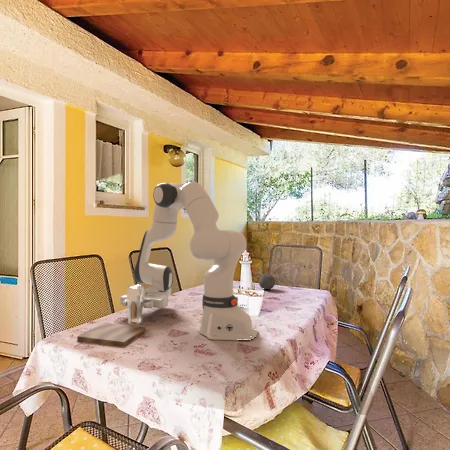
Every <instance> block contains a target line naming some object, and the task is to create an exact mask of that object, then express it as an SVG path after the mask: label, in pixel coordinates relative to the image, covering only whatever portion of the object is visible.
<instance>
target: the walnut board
mask: <svg viewBox="0 0 450 450" xmlns="http://www.w3.org/2000/svg"><path fill="white" fill-rule="evenodd" d="M146 332H147V327H146V326H139V325H129V324H127V325H126V324H120V323H119V324H118V323H109V322H103V323H101V324H99V325H97V326H95V327H94V328H92V329H89V330H87V331H85V332H83V333H81V334H79V335H78V336H77V337H76V338H77V339H76V340H77V341H78V342H86V343H94V344H101V345H110V346H118V347H126V346H127V345H128V344H130V343H131V342H133V341H134V340H135V339H137V338H139V337H140V336H141V335H143V334H144V333H146Z"/></svg>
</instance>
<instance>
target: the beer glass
mask: <svg viewBox="0 0 450 450" xmlns="http://www.w3.org/2000/svg"><path fill="white" fill-rule="evenodd" d="M144 289H145V286H144V285H142V284H132V285H127V290H126V294H127V305H128V306H127V310H128V318H127V325H129V326H139V325H142V324H143V323H144V321H143V310H144V307H143V304H144Z"/></svg>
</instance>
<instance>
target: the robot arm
mask: <svg viewBox="0 0 450 450" xmlns="http://www.w3.org/2000/svg"><path fill="white" fill-rule="evenodd" d="M152 195H153V200H154V203H155V205H154V209H153V216H152V224H151V226H150V227H149V229H147V230H146V231H145V233H144V235H143V237H142V241H141V244H140V249H139V253H138V257H137V260H136V263H135V266H134V269H133V274H132V276H133V279H134V280H135V282H137V283H139V284H145V285H146V284H147V285H151V286H149V287H147V288H144V304H143V309H152V308H155V309H164V308H166V307H168V304H169V297H170V296H171V294H172V286H173V282H174V273H173V271H172V269H171V267H170V266H168V265H163V264H162V265H161V264H156V263H150V262H149V258H150V255H151V250H152V247H153V245H154V244H155V243H159V242H164V241H166V240H169V239H170V238H172V237H173V236H175V233H176V231H177V224H178V214H179V211H180V210H184V211H185V212H186V213H187V215H188V217H189V219H190V222H191V223H192V226H193V235H192V236H191V238H190V242H189V249H190V253H191V254H192V256H194V258H196V259H199V260H203V261H204V260H205V261H211V260H213V262H212V264H211V266H210V267H209V269H208V270H207V271H206V272H205V274H204V277H203V278H204V280H203V281H204V283H203V286H204V288H203V294H202V303H201V305H202V317H201V322H200V326H199V330H198V332H199V334H201V335H202V336H205V337H206V338H207V339H208V340H216V341H238V340H237V339H242V340H243V339H252V338H253V337H255V336H256V334H257V332H258V329H257V328H256V327H255V326H253V323H252V317H251V316H250V314H249V313H247V312H246V311H245V310H244V309H243V308H241V307H240V306H239V305H238V300H239V299H238V298H239V296H235V295H234V293H233V290H234V275H235V270H236V267H237V265H238V262H239V260H240V259H241V256H242V255H243V254H244V253H245V252H246V250H247V245H248V244H247V238H246V237H245V235H244V234H243V233H242V232H238V231H235V230H233V229H232V230H231V229H230V230H228V229H225V230H220V229H219V228H218V227H217V222H218V220H219V216H220V215H219V211H218V209H217V208H216V206H215V205H214V203H213V201H212V199H211V197H210V195H209V194H208V192H207V191H206V190H205V189H204V187H203V186H202V185H201V184H200V183H199V182H197V181H189V182H187V183H185V184H184V183H179V182H162V183H159V184H157V185H156V186H155V188H154V190H153V193H152ZM119 304H120V305H122V306H123V307H128V305H127V293H126V294H123V295H121V296H120V297H119ZM254 329H256V330H254ZM257 335H258V334H257ZM250 336H252V337H250ZM256 337H257V336H256Z"/></svg>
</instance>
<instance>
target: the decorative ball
mask: <svg viewBox="0 0 450 450" xmlns="http://www.w3.org/2000/svg"><path fill="white" fill-rule="evenodd" d="M275 280H276V279H275V277H274V276H273V275H271V274H270V273H264V274H262V275H260V277H259V279H258V285H259V287H260V288H261V289H262V288H264V289H270V290H271V289H273V288H274V286H275V284H276V281H275ZM264 289H263V290H264Z"/></svg>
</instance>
